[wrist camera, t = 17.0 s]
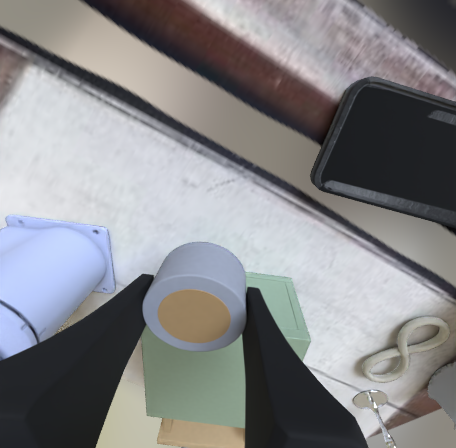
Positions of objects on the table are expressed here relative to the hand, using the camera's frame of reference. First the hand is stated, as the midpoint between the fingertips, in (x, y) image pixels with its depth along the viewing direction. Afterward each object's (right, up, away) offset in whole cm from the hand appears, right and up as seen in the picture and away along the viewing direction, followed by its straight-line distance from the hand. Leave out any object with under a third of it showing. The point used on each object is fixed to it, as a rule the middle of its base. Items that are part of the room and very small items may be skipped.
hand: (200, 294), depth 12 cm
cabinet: (+1, -7, +13) cm, 15 cm away
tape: (0, +1, +1) cm, 1 cm away
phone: (+16, +9, +5) cm, 19 cm away
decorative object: (+22, -10, +14) cm, 28 cm away
